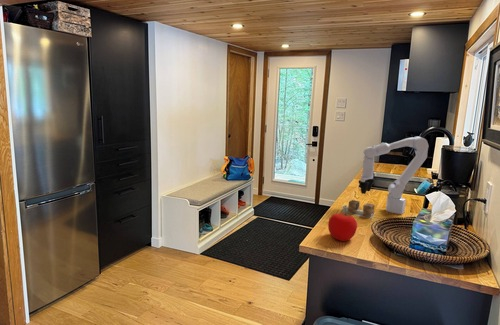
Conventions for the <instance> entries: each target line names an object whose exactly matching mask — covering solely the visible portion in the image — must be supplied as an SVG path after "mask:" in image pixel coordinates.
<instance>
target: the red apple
mask: <svg viewBox="0 0 500 325" xmlns="http://www.w3.org/2000/svg"><path fill="white" fill-rule="evenodd" d="M352 215H353V214H349V213H345V212H344V213H342V212H341V213H334V214H332V215H331V216H330V217H329V220H328V222H327V226H328V227H327V228H328V232H329V233H330V235H331V236H332V238H334V239H335V240H337V241H341V242H345V241H346V242H347V241H349V240H351V239H352V238H354V236H355V234H356V233H357V229H358V223H357V220H356V219H355V217H354V216H352Z"/></svg>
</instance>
